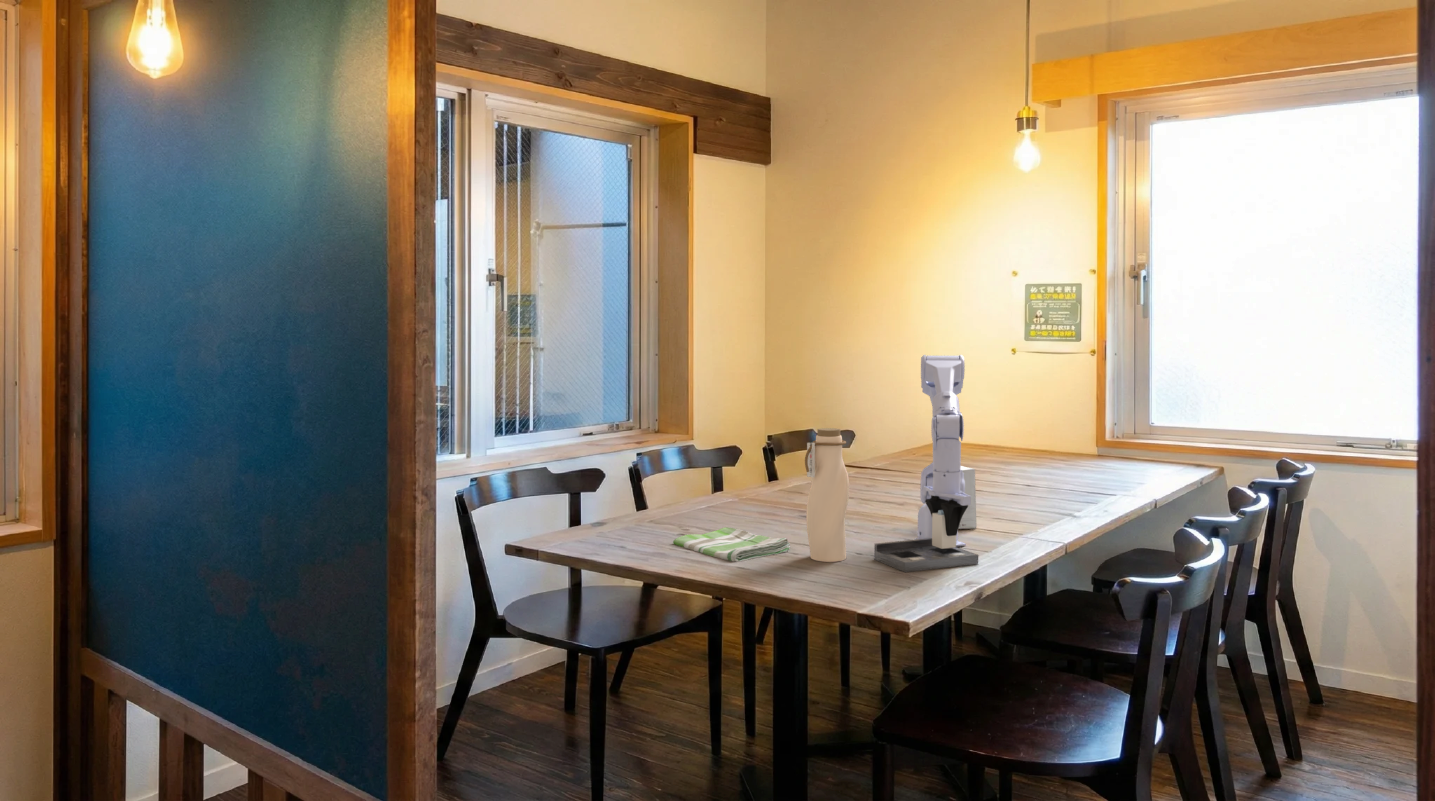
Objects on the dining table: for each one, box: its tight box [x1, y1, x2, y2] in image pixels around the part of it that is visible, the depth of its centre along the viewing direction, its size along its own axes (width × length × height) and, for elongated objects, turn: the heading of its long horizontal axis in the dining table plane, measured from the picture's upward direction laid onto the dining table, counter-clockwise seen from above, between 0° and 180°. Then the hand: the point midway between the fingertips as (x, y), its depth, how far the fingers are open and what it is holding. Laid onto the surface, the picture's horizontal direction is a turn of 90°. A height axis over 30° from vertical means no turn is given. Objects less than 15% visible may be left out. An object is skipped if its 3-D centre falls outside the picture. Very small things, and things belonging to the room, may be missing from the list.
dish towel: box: [672, 526, 792, 563], centre depth 226 cm, size 17×23×4 cm
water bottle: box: [804, 427, 850, 563], centre depth 215 cm, size 10×9×28 cm
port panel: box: [873, 538, 979, 573], centre depth 212 cm, size 12×18×4 cm, turn 112°
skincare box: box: [958, 465, 977, 530], centre depth 249 cm, size 8×6×15 cm
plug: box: [932, 510, 957, 549], centre depth 213 cm, size 4×4×8 cm
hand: (945, 533), depth 214 cm, fingers closed on plug, 4 cm apart
